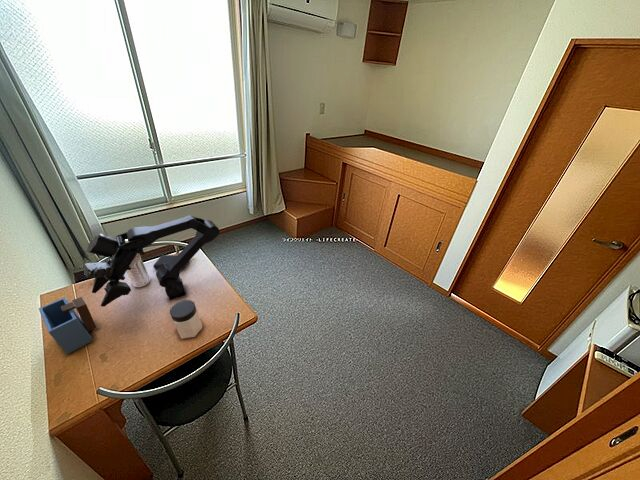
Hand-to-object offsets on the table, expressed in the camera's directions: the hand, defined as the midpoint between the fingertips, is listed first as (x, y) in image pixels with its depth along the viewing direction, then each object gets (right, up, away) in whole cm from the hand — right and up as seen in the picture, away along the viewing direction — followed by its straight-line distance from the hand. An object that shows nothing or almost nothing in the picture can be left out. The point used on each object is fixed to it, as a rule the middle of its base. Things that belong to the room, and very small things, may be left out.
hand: (97, 299), depth 89 cm
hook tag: (-9, -12, +4) cm, 15 cm away
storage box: (-11, -14, +3) cm, 18 cm away
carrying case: (+5, +8, +37) cm, 38 cm away
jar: (+28, -13, +8) cm, 32 cm away
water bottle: (-3, +1, +26) cm, 26 cm away
